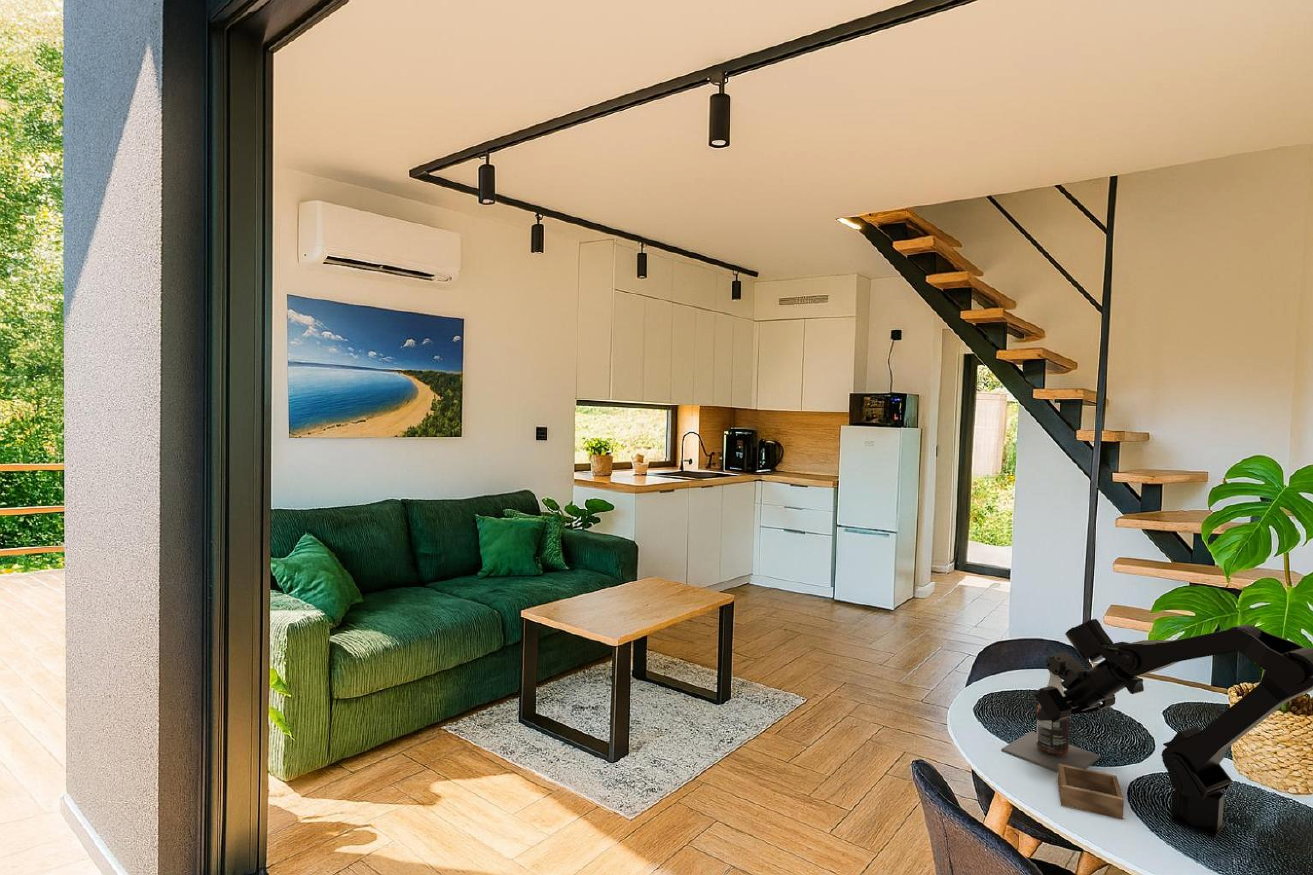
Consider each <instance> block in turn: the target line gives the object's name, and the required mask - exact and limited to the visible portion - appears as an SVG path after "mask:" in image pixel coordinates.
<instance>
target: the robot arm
mask: <svg viewBox="0 0 1313 875" xmlns="http://www.w3.org/2000/svg"><path fill="white" fill-rule="evenodd" d="M1064 635H1065V636H1066V638H1067V639H1068V641H1069V642H1070V643H1071V644H1072V646H1073V647H1074V649H1075V650H1076V651H1077V654H1079V656H1080V657H1081V659H1082V660H1083V661H1085V662H1086V661H1088V660H1089V661H1090V662H1091V663H1097V662H1098V661H1100V660H1101V661H1100V662H1099V663H1097V664H1095V665H1094V666H1093V667H1090V668H1089V669H1086V668H1085V667H1084V665H1083V664H1082V663H1080V661H1078V660H1077V659H1076V658H1074V657H1073V656H1072V655H1071V654H1070V653H1068V652H1065V651H1060V652H1056V653H1055V652H1054V653H1052V655H1049V657H1048V658H1046V659H1045V663H1046V664H1045V668H1046V669H1047V671H1048V672H1049V671H1050V672H1051V673H1052V674H1054V675H1057V676H1058V677H1060V678H1061V679H1062V682H1061V684H1062V686H1063V690H1064V689H1065V690H1064V691H1063V693H1064V694H1065V696H1064V697H1063V696H1062V694H1061V693H1060V691H1059V690H1058V688H1056V687H1053V686H1049V687H1047V686H1044V687H1040V688H1038V689H1037V690H1035V691H1034V695H1033V696H1034V698H1035V699H1036V700H1037V702H1038V704H1040V705H1041V708H1040V710H1039V711H1038V713H1036V714H1035V717H1036V720H1037V719H1038V720H1039V721H1046V720H1051V721H1052V722H1057V721H1061V720H1065V719H1068V717H1069V716H1070V717H1071V716H1072V715H1079V714H1089V713H1090V714H1091V713H1094V712H1097V711H1099V710H1100V711H1102V710H1104V709H1108V708H1111V707H1112V706H1114V705H1115V704H1116V694H1117V693H1118V692H1120V691H1121V690H1123V689H1127V691H1128V692H1129V693H1130V694H1131V695H1134V694H1138V693H1142V692H1144V691H1145V686H1144V684H1143V682H1144V678H1141V677H1138V676H1142V675H1146V674H1149V673H1154V672H1158V671H1160V670H1164V669H1166V668H1168V667H1171V666H1173V665H1174V664H1175V665H1176V664H1177V663H1179V662H1183V661H1189V660H1194V659H1201V658H1207V657H1213V656H1218V655H1222V654H1229V653H1233V652H1237V653H1240V654H1242V655H1243V656H1245V657H1246V658H1247V659H1248V660H1250V661H1251V662H1252V663H1253V664H1254V665H1255V666H1256V667H1258V668H1260V669H1262V670H1263V673H1262V675H1261V678H1260V681H1259V682H1258V684H1257V685H1256V686H1255V687H1254V688H1252V689H1251V690H1250V691H1249V692H1247V693H1246V694H1244V695H1243V697H1241V698H1240V699H1238V701H1236V702H1235V703H1234V704H1232V705H1231V706H1230V707H1229V708H1228V709H1226V710H1225V711H1224V712H1223V713H1222V714H1220V715H1219V716H1218V717H1217V718H1216V719H1215V720H1213V721H1212V722H1211V723H1209V724H1208V725H1207V726H1205V728H1203V729H1202V730H1201V729H1200V727H1199V726H1198V725H1195V726H1193V727H1188V728H1186V729H1183V730H1180V731H1178V732H1177V733H1176V734H1175V735H1174V736H1173V738H1172V739H1171V740H1170V741H1167V742H1164V743H1163V744H1162V745H1163V746H1164V749H1163V750H1162V751H1161V758H1162V763H1163V764H1164V767H1165V769H1166V771H1167V773H1168V776H1169V777H1168V778H1169V781H1170V783H1171V788H1172V789H1173V790H1171V800H1170V801H1171V802H1170V803H1171V804H1170V812H1171V814H1172V816H1170V821H1171V822H1174V823H1176V824H1178V825H1181V826H1183V827H1186V828H1188V829H1191V830H1194V831H1197V832H1198V833H1201V834H1204V835H1206V836H1209V837H1211V838H1217V837H1218V835H1219V834H1220V833H1221V831H1222V830H1223V829H1224V828H1225V826H1226V822H1225V821H1223V818H1224V817H1223V816H1224V801H1225V793H1223V792H1224V791H1228V790H1229V788H1230V787H1231V785H1232V783H1233V780H1232V778H1231V777H1230V776H1229V775H1228V773H1227V771H1225V769H1224V768H1223V767H1222V765H1221V764H1220V763H1221V762H1223V760H1224V758H1225V756H1226V754H1227V752H1228V749H1229V747H1231V746H1232V745H1233V744H1234V743H1237V742H1238V740H1240V739H1241V738H1242V737H1243V736H1245V735H1247V733H1249V732H1250V731H1252V730H1253V729H1254V728H1256V726H1259V724H1261V723H1262V722H1263V721H1264V720H1266V719H1267V718H1269V716H1271V715H1272V714H1274V713H1275V712H1276V711H1277V710H1279V709H1280V708H1282V706H1284V705H1285V704H1287V703H1288V702H1289V701H1291V700H1293V699H1295V698H1299V697H1300V696H1303V695H1305V694H1307V693H1310V692H1313V647H1305V646H1303V645H1301V644H1299V643H1296V642H1295V641H1291V640H1290V639H1286V638H1283V637H1281V636H1277V635H1275V634H1272V633H1269V632H1267V631H1266V630H1264V629H1261V628H1259V627H1257V626H1255V625H1252V624H1249V623H1248V624H1241V625H1237V626H1232V627H1229V628H1228V629H1223V630H1219V631H1214V632H1210V633H1204V634H1201V635H1194V636H1191V637H1190V636H1189V637H1185V638H1180V639H1179V638H1178V639H1173V640H1168V639H1164V640H1163V639H1147V640H1145V639H1144V640H1138V641H1134V642H1126V641H1117V642H1113V640H1112V639H1111V638H1110V636H1109V635H1108V634H1107V632H1106V630H1104V628H1103V626H1102V624H1101V623H1100V621H1099V620H1098V619H1097V618H1092V619H1089V620H1087V621H1086V622H1084V623H1081V624H1079V625H1077V626H1074V627H1071V628H1070V629H1068V630H1067V631H1066V632H1065V633H1064ZM1100 703H1102V704H1100Z"/></svg>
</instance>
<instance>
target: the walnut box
mask: <svg viewBox="0 0 1313 875" xmlns="http://www.w3.org/2000/svg"><path fill="white" fill-rule="evenodd" d="M1119 782H1120V781H1119V779H1118V776H1117V775H1115V774H1109V773H1105V772H1101V771H1096V770H1091V769H1087V768H1086V769H1082V768H1077V767H1072V766H1067V765H1063V764H1058V773H1057V787H1058V788H1057V789H1058V793H1059V795H1058V796H1059V802H1060V806H1064V807H1067V808H1071V809H1075V810H1076V809H1077V810H1080V811H1084V812H1089V813H1092V814H1093V813H1094V814H1097V815H1103V816H1107V817H1111V818H1116V819H1120V820H1123V819H1124V806H1125V800H1124V799H1125V798H1124V795H1123V792H1122V788H1121V785H1120V783H1119Z"/></svg>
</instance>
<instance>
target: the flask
mask: <svg viewBox="0 0 1313 875" xmlns="http://www.w3.org/2000/svg"><path fill="white" fill-rule="evenodd" d="M1048 673H1049V679H1048V683H1047V686H1046V687H1049V686H1053V687H1056V688H1058V690H1059V691H1060V693H1061V694H1062V696H1063V697H1064V696H1065V694H1064V693H1063V691H1064V687H1063V686H1062V684H1061V682H1063V680H1062V679H1061V678H1060V677H1058V676H1057V675H1054V674H1052V673H1051V672H1050V671H1049V670H1048Z"/></svg>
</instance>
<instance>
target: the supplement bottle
mask: <svg viewBox="0 0 1313 875" xmlns="http://www.w3.org/2000/svg"><path fill="white" fill-rule="evenodd" d="M1038 704H1039V703H1038ZM1038 704H1037V711H1036V712H1037V713H1038V711H1039V710H1040V708H1041V705H1040V704H1039V705H1038ZM1037 713H1036V714H1037ZM1070 717H1071V716H1069V717H1068V719H1065V720H1061V721H1057V722H1052V721H1051V720H1046V721H1039V720H1038V719H1037V718H1036V732H1035V733H1036V734H1037V739H1036V741H1037V746H1038V748H1039V749H1041V750H1043V751H1045V752H1047V753H1051V754H1057V755H1061V754H1066V753H1067V752H1068V748H1069V745H1070V744H1069V742H1070Z"/></svg>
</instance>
